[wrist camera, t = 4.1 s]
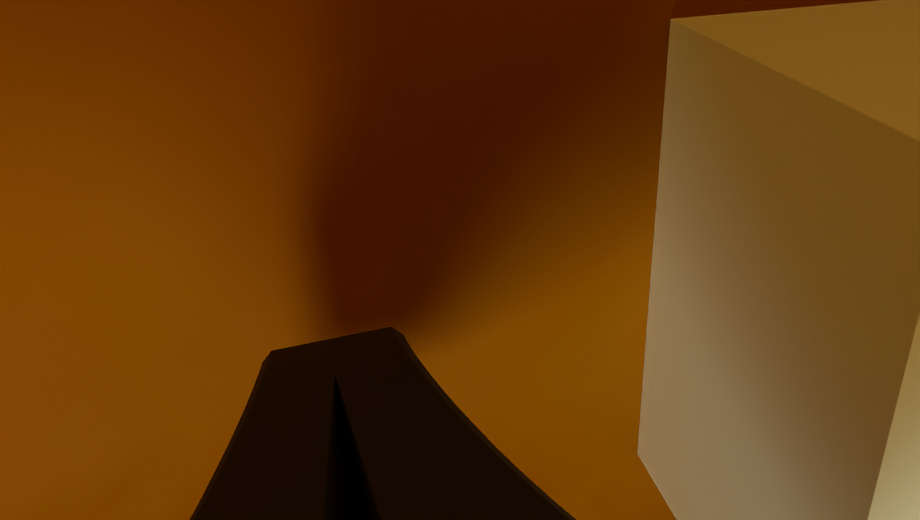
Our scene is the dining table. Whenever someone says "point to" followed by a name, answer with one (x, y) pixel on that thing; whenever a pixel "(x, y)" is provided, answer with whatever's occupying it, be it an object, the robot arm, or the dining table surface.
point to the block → (787, 267)
